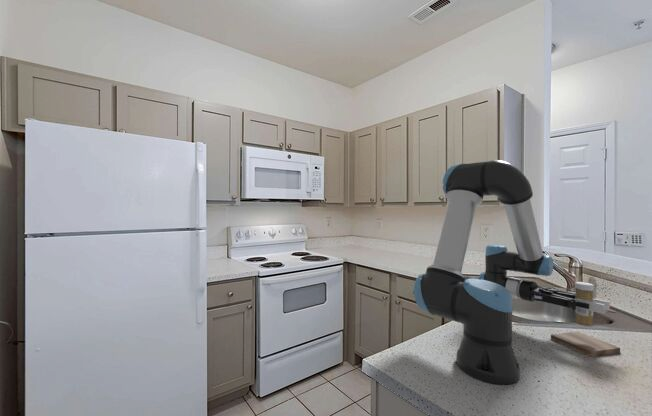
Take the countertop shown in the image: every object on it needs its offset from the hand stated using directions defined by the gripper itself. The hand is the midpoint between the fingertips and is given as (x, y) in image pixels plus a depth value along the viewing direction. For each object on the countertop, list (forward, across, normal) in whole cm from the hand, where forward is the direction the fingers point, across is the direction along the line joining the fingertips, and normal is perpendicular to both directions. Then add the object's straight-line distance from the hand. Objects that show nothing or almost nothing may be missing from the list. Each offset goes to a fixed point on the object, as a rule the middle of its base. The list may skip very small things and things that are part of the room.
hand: (606, 307), depth 88 cm
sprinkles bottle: (-5, 0, -7) cm, 9 cm away
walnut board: (-5, 0, -14) cm, 15 cm away
